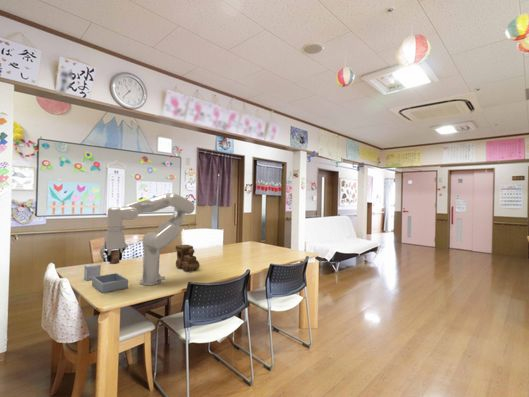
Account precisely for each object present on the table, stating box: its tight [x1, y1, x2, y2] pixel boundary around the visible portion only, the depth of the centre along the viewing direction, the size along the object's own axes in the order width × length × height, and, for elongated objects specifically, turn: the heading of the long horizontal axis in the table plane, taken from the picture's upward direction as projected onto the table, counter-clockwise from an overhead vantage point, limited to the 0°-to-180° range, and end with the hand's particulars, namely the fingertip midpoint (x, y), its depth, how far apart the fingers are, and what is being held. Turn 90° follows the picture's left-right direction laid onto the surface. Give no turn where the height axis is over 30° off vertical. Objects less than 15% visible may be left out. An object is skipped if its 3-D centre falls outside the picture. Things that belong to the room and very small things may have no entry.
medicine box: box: [83, 263, 102, 281], centre depth 176 cm, size 8×4×9 cm, turn 141°
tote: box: [91, 272, 129, 294], centre depth 163 cm, size 18×14×5 cm
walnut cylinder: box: [109, 249, 120, 265], centre depth 158 cm, size 5×5×7 cm
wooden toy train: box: [175, 244, 200, 272], centre depth 209 cm, size 20×11×17 cm, turn 46°
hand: (114, 260), depth 158 cm, fingers closed on walnut cylinder, 5 cm apart
